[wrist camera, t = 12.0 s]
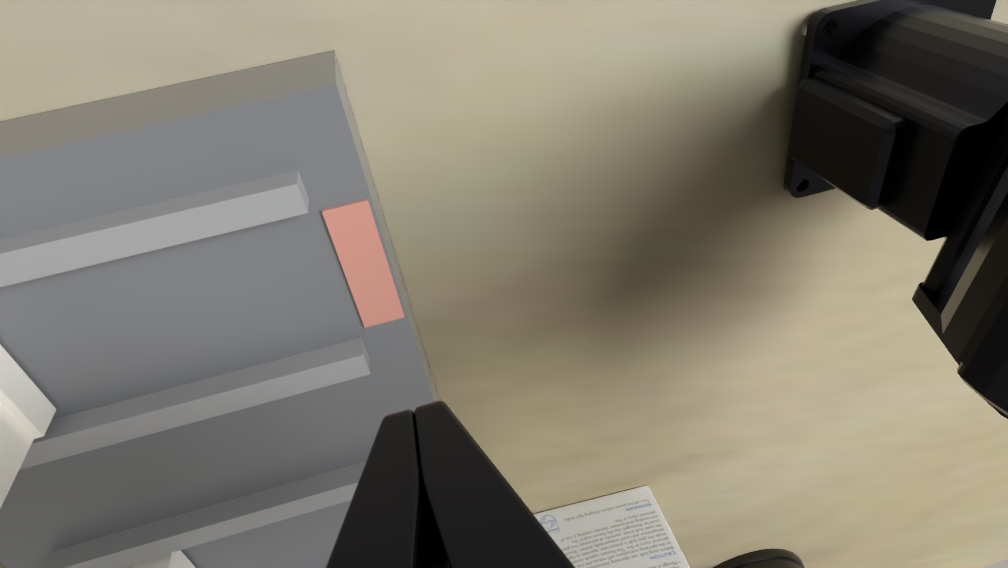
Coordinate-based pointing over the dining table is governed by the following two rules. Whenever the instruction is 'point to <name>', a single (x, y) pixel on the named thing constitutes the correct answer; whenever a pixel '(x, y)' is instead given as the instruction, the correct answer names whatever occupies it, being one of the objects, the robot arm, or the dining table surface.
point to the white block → (18, 419)
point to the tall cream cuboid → (165, 562)
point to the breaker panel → (200, 321)
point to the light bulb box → (614, 532)
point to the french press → (765, 560)
